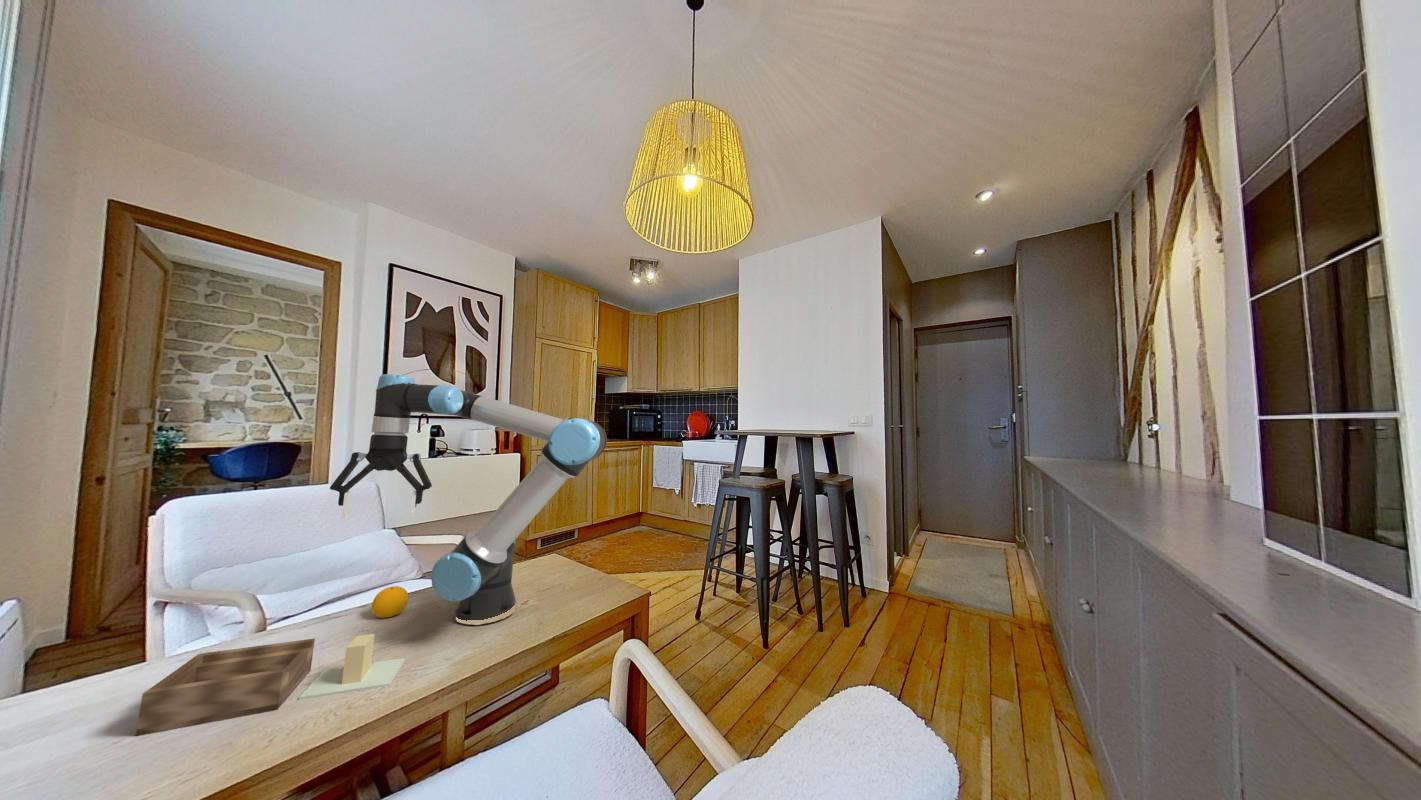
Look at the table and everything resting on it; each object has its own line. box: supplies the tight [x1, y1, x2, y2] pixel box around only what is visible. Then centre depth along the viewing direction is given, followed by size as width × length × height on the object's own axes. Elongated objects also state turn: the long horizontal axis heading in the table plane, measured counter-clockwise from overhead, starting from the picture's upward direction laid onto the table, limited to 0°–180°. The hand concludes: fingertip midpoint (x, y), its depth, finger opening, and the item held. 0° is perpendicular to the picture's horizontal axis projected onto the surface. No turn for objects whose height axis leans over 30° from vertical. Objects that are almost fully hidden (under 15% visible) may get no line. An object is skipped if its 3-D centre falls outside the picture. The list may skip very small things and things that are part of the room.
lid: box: [298, 633, 406, 701], centre depth 83 cm, size 14×10×8 cm
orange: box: [371, 585, 410, 619], centre depth 111 cm, size 8×8×8 cm
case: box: [134, 638, 316, 737], centre depth 75 cm, size 17×13×6 cm
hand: (379, 517), depth 101 cm, fingers open, 13 cm apart
